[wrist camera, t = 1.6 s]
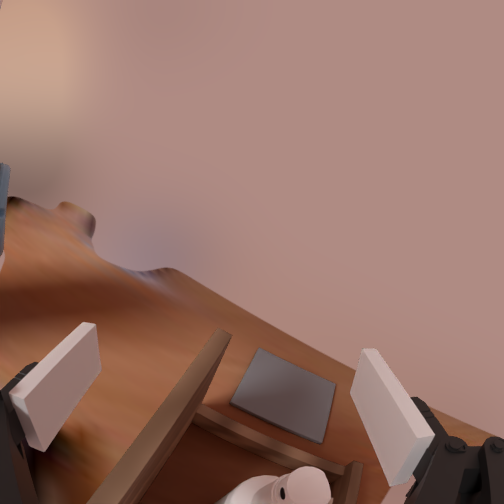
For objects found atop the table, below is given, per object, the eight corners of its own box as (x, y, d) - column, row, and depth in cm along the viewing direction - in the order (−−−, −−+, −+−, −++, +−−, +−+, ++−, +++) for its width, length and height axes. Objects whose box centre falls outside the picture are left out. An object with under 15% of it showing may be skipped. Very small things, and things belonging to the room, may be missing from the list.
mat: (229, 403, 40) (230, 401, 39) (257, 349, 50) (259, 347, 50) (320, 444, 38) (322, 442, 38) (333, 385, 48) (335, 383, 48)
